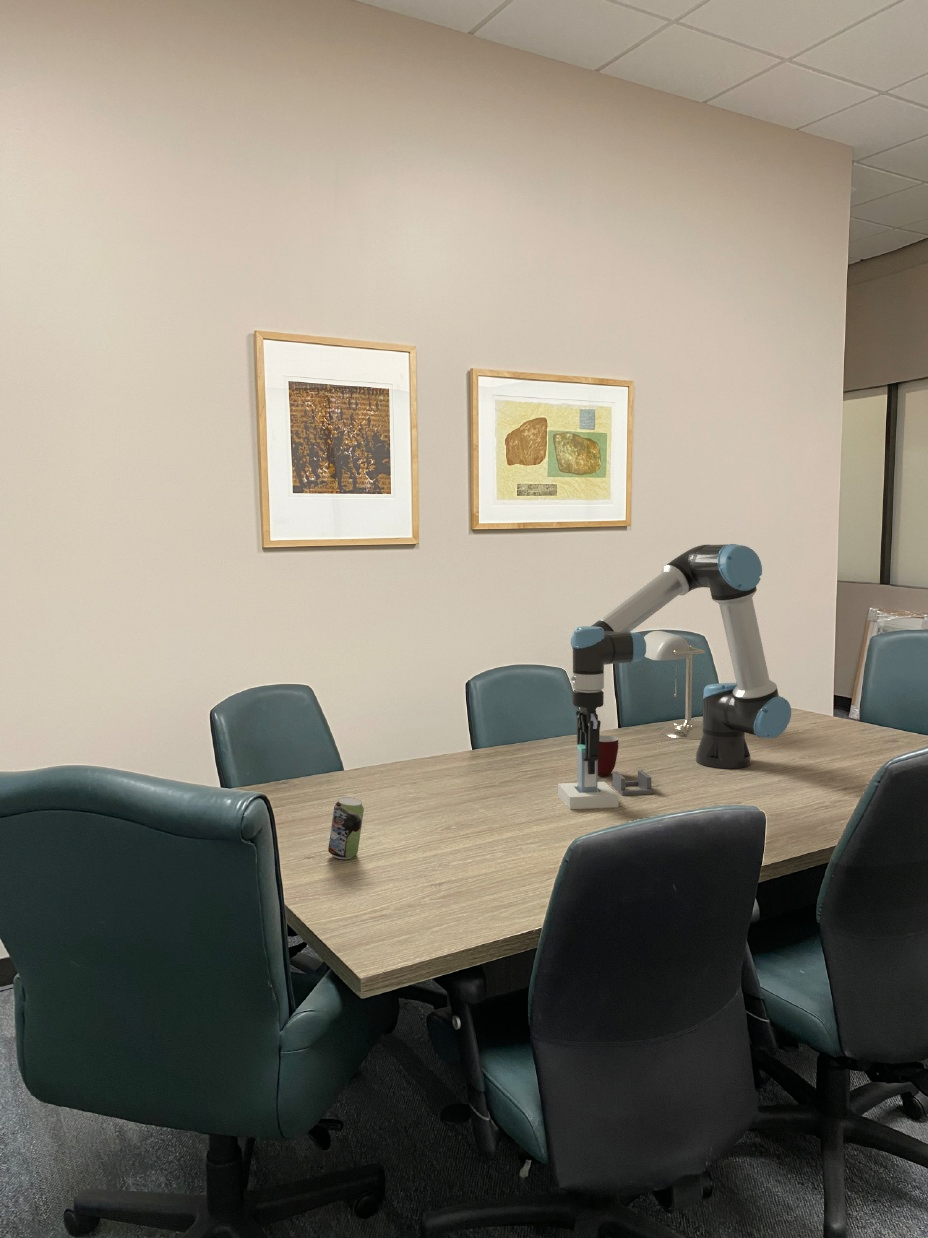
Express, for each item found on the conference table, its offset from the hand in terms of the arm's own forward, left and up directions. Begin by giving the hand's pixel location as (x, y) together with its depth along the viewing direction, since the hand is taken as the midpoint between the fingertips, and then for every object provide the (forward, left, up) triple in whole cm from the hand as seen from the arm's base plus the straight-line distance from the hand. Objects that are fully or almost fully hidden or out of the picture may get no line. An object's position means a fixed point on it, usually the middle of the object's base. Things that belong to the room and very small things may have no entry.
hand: (587, 783), depth 216 cm
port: (0, 0, -4) cm, 4 cm away
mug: (-10, -23, -5) cm, 26 cm away
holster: (-14, -8, -4) cm, 17 cm away
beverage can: (+59, +30, -5) cm, 66 cm away
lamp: (-51, -69, -5) cm, 86 cm away
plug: (0, 0, -3) cm, 3 cm away
